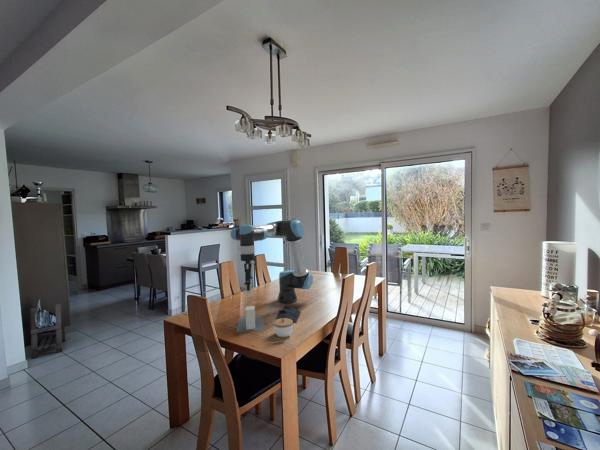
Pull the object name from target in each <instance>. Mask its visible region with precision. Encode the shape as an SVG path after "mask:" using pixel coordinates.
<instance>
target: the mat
mask: <svg viewBox="0 0 600 450" xmlns="http://www.w3.org/2000/svg"><path fill="white" fill-rule="evenodd" d="M236 327H237V328H236V331H235V332H236V334H237V333H238V334H239V333H240V334H241V333H251V332H259V331H266V328H265V327H266V326H265V316H264V315H261V316H255V330H246V317H242V318H241V317H239V318H238V322H237V326H236Z"/></svg>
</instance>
